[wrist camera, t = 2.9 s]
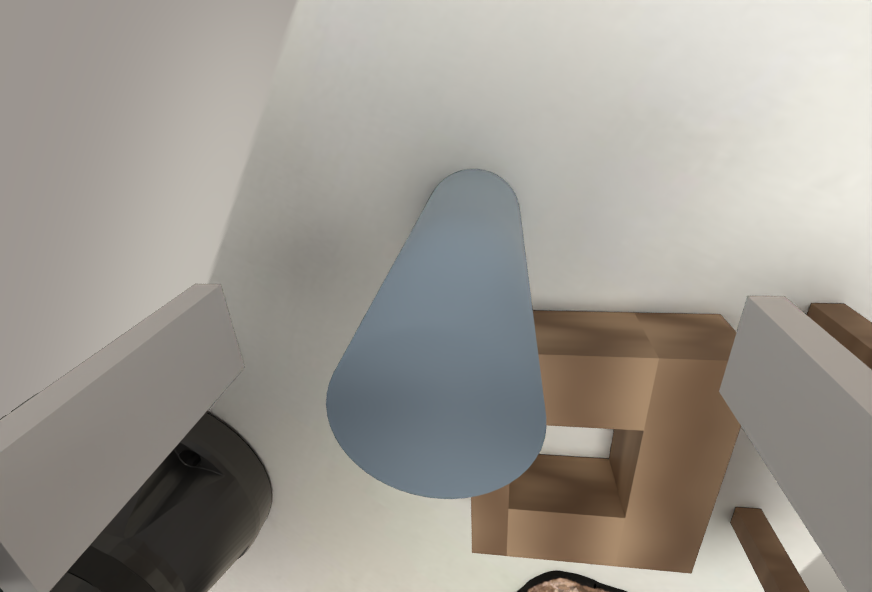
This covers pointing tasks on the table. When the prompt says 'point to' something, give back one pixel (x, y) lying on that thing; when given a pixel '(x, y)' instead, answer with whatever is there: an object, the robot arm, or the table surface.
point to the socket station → (639, 445)
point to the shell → (565, 583)
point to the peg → (447, 353)
